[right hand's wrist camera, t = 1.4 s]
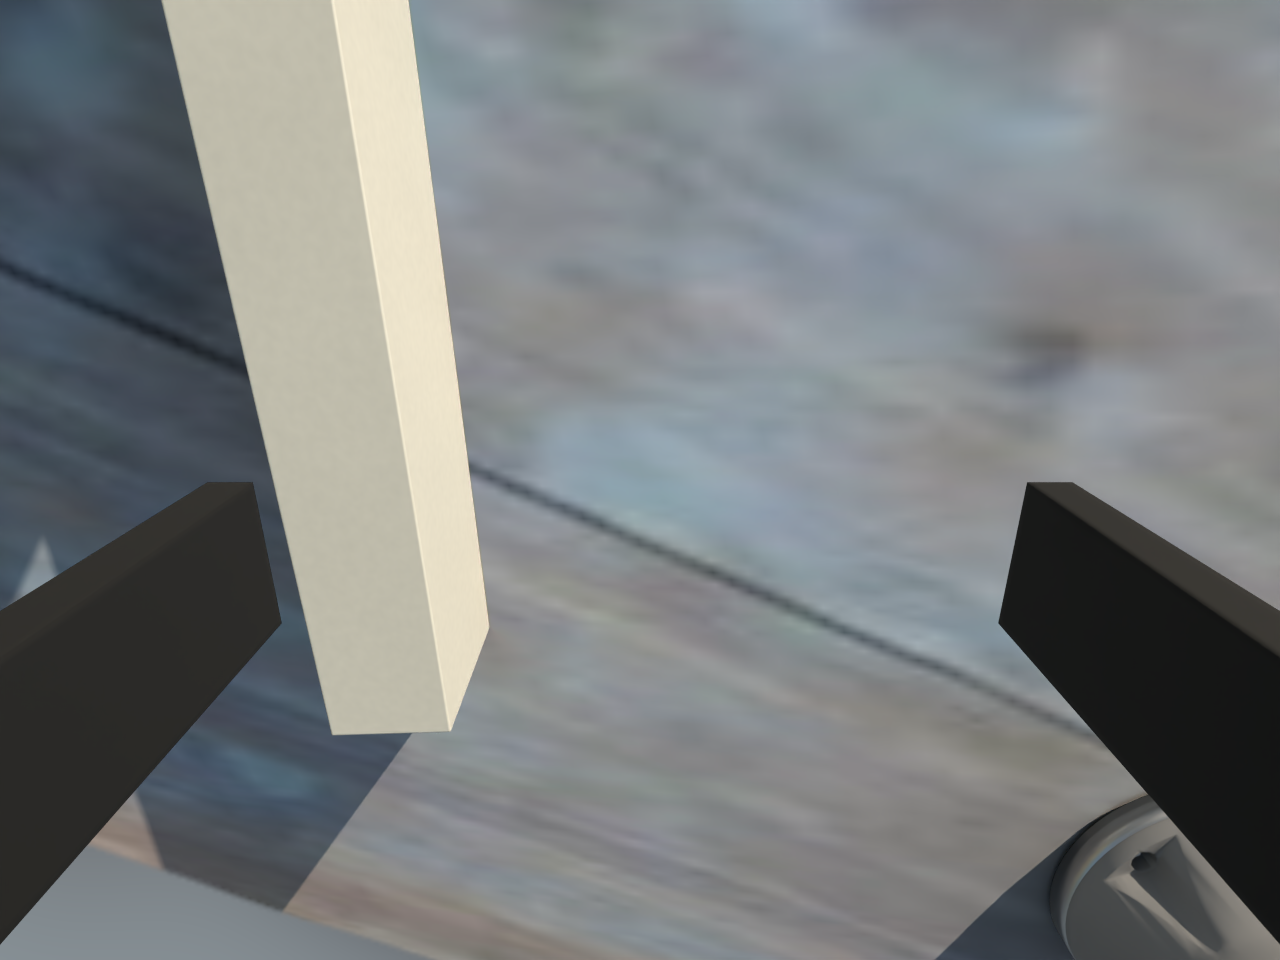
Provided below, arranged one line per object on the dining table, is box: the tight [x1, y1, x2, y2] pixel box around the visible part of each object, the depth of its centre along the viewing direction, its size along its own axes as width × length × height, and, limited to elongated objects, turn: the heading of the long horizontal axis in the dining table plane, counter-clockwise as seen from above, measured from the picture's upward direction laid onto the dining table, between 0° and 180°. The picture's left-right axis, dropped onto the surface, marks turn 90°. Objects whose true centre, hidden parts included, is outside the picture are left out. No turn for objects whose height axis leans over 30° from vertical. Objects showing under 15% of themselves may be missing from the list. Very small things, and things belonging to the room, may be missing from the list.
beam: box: [161, 0, 489, 735], centre depth 28 cm, size 30×5×8 cm, turn 2°
